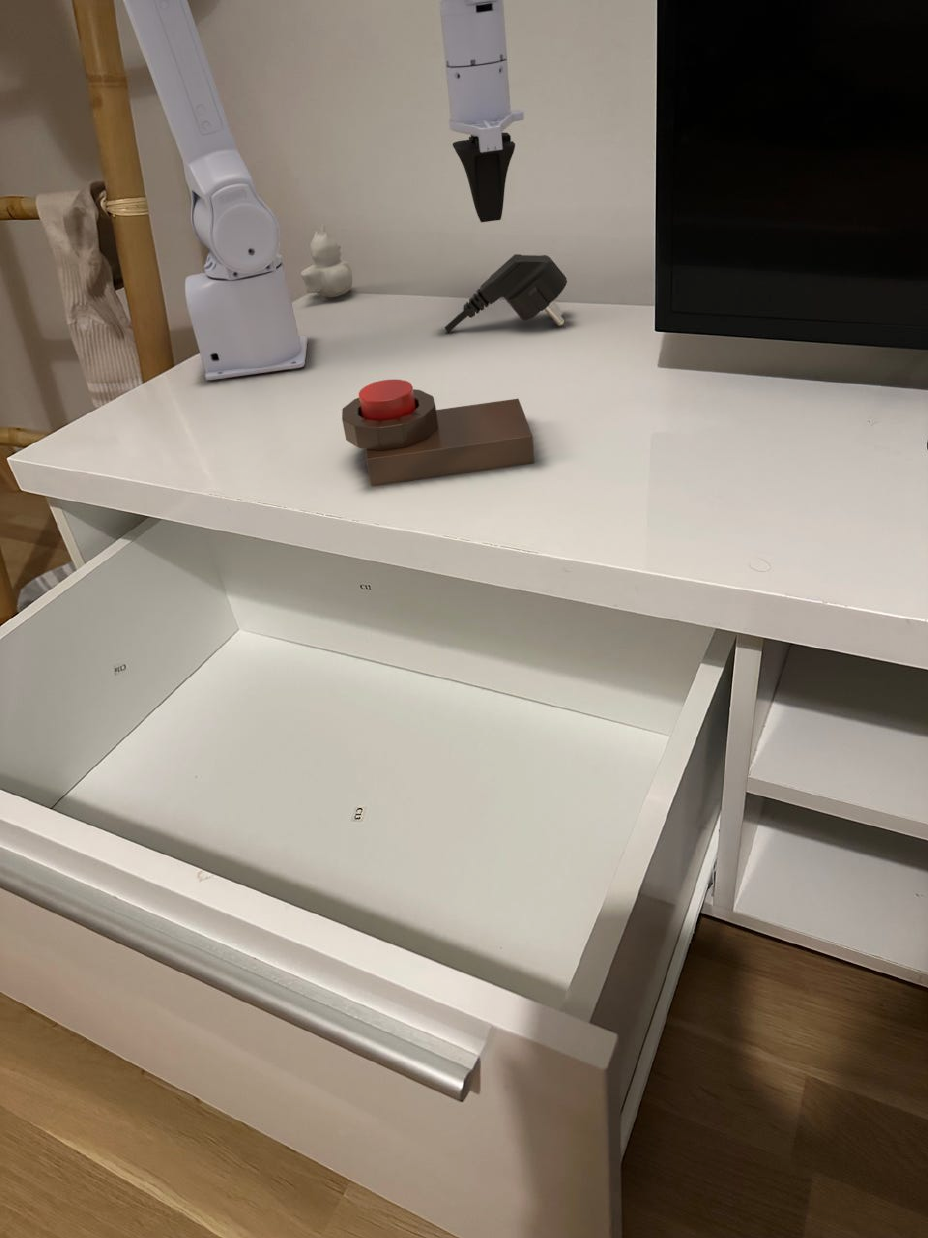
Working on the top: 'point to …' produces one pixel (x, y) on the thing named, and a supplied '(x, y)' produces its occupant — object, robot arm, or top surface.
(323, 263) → the rubber duck
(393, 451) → the switch box
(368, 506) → the top surface
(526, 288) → the power plug
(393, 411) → the light button
